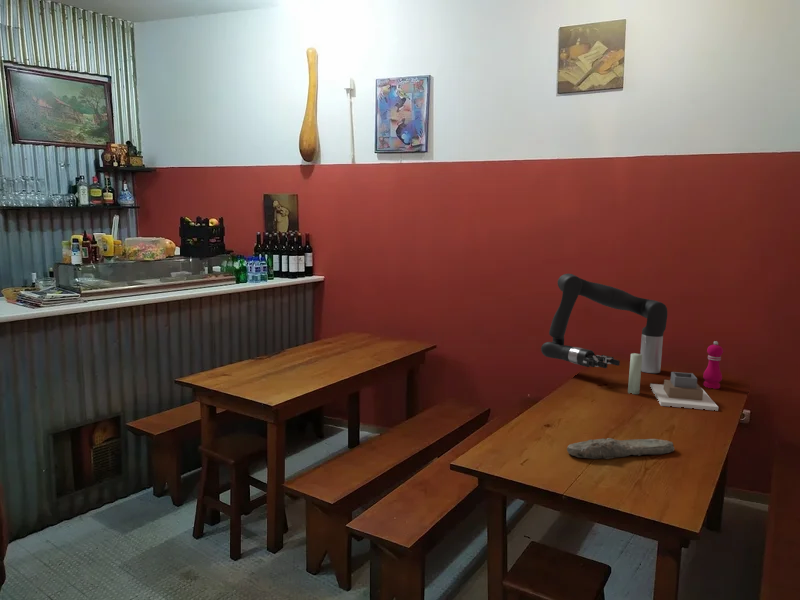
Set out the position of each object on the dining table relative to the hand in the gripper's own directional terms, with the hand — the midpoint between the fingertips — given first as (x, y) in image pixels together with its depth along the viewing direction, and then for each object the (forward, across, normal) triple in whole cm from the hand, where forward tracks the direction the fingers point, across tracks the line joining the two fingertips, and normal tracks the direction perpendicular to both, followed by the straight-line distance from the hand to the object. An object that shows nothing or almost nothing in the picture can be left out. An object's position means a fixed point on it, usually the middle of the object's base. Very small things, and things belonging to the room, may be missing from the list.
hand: (613, 364), depth 253 cm
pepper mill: (+24, +37, +10) cm, 45 cm away
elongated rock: (+45, -60, +10) cm, 76 cm away
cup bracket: (+25, +10, +10) cm, 29 cm away
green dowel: (+10, 0, +10) cm, 14 cm away
